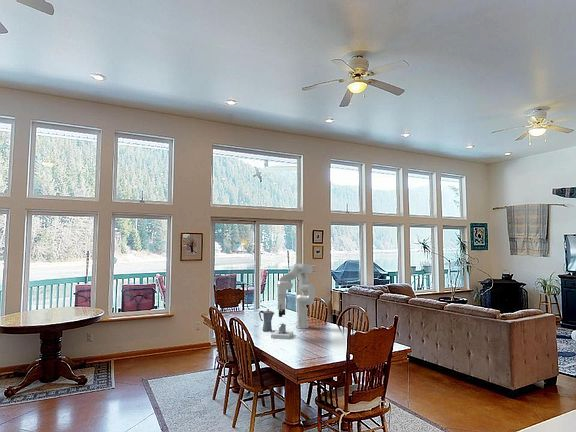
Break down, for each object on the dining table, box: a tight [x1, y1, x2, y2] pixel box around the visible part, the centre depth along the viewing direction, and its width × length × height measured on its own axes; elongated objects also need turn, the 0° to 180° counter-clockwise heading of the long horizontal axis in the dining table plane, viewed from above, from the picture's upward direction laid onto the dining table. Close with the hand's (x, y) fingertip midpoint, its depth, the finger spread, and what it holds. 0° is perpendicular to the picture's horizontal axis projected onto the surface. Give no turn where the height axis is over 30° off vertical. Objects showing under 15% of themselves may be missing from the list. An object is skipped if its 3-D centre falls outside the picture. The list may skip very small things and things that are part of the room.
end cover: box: [278, 322, 287, 334], centre depth 333 cm, size 6×6×11 cm
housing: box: [270, 329, 294, 340], centre depth 333 cm, size 16×16×3 cm
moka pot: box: [258, 308, 275, 332], centre depth 356 cm, size 10×15×20 cm, turn 78°
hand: (281, 315), depth 334 cm, fingers open, 9 cm apart
